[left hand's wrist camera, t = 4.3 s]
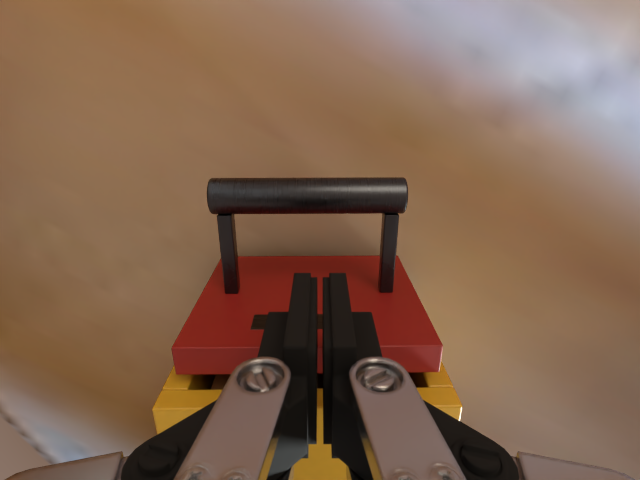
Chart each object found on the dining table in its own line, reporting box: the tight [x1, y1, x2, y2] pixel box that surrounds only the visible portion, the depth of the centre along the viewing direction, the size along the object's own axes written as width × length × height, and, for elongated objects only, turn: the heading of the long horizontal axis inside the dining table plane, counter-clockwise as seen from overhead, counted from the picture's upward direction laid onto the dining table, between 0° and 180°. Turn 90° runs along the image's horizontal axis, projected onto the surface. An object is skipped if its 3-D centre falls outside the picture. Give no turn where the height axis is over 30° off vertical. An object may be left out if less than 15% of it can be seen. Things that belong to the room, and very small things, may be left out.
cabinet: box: [152, 361, 462, 480], centre depth 22 cm, size 20×11×10 cm, turn 0°
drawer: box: [172, 178, 443, 390], centre depth 20 cm, size 24×10×8 cm, turn 0°
